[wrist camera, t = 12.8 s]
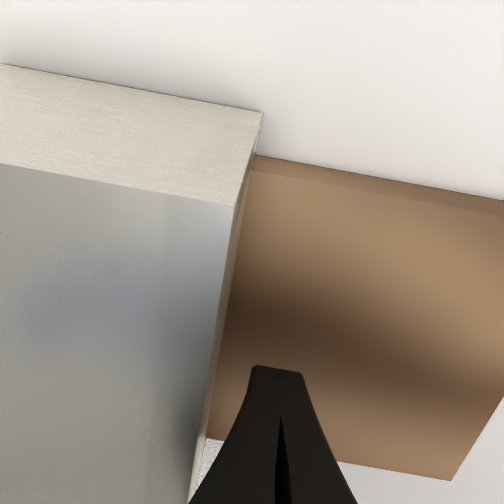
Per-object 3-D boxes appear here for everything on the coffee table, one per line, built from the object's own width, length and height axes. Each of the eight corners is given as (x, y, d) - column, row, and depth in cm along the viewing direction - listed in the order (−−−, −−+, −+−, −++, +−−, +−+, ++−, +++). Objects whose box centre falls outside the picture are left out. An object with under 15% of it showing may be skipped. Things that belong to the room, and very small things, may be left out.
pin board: (437, 445, 17) (500, 616, 12) (34, 373, 16) (-73, 517, 11) (568, 213, 12) (763, 337, 7) (7, 108, 12) (-190, 162, 7)
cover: (207, 432, 17) (163, 651, 11) (32, 401, 17) (-108, 604, 11) (262, 112, 11) (234, 206, 5) (-5, 62, 11) (-352, 98, 5)
